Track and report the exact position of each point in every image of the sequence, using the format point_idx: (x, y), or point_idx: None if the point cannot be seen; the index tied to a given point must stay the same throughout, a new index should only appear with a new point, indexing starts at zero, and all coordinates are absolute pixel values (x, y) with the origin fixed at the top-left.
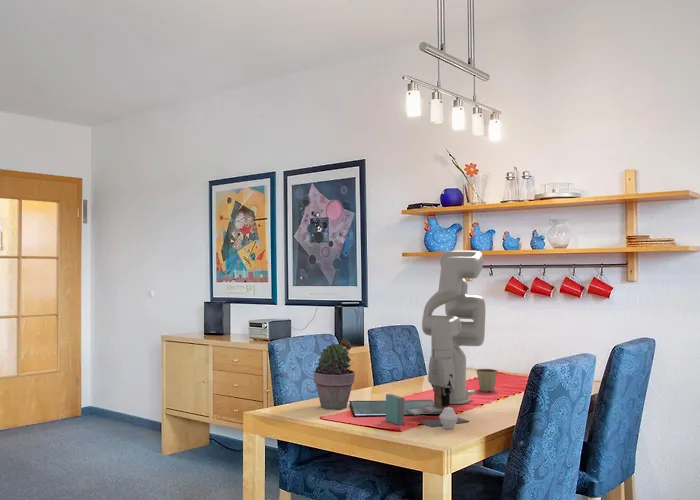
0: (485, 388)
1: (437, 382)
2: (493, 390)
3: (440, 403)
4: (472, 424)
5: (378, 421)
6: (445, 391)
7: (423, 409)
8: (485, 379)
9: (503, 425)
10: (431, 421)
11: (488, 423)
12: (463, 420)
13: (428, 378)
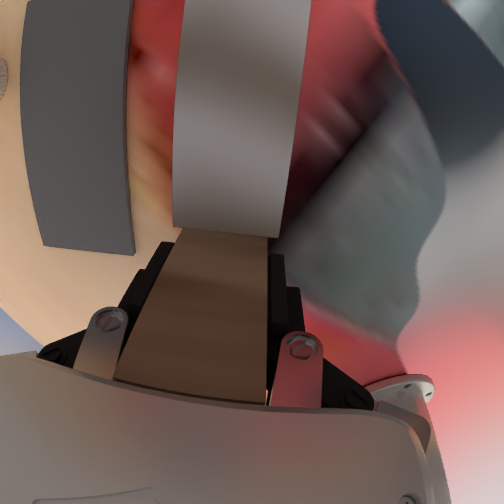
0: None
1: (103, 433)
2: None
3: (180, 248)
4: (13, 224)
5: None
6: (87, 346)
7: (242, 72)
8: None
9: (2, 298)
10: (94, 40)
11: (23, 285)
12: (53, 230)
13: (416, 469)
